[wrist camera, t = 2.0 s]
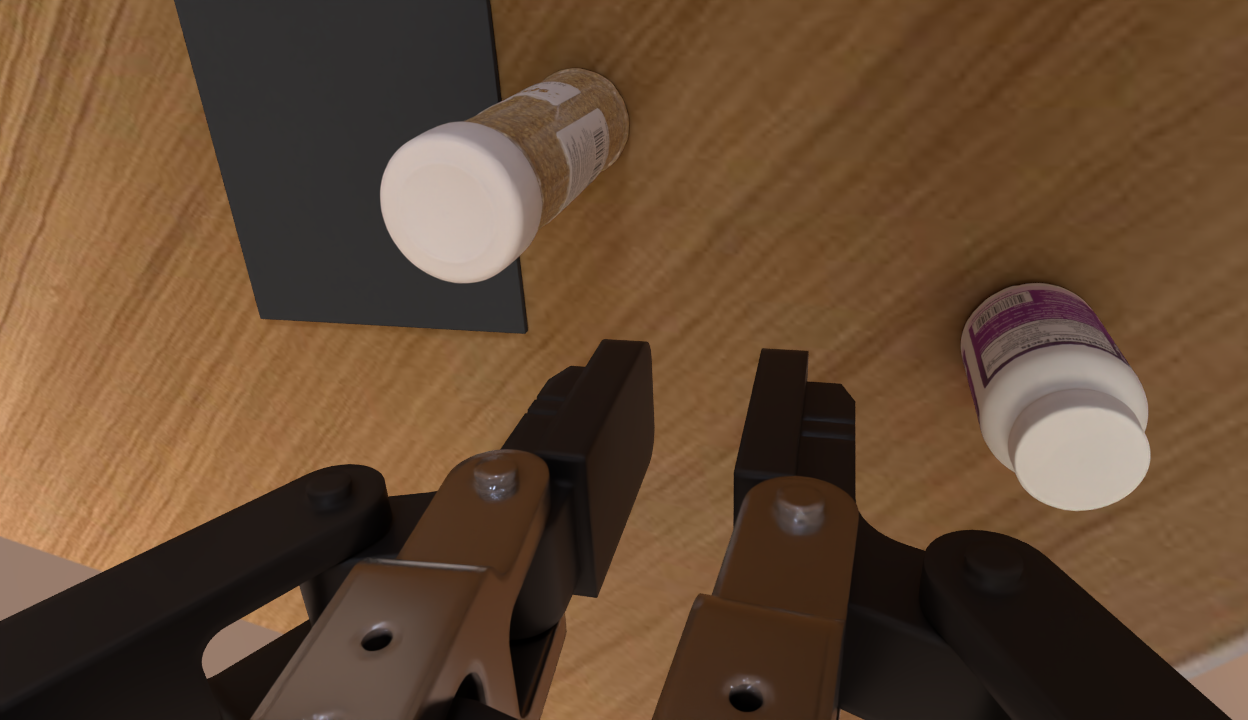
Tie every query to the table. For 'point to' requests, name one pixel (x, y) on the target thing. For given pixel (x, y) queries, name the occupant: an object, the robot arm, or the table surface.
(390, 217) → the sprinkles bottle
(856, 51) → the table surface
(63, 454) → the table surface
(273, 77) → the mat
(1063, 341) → the pill bottle
